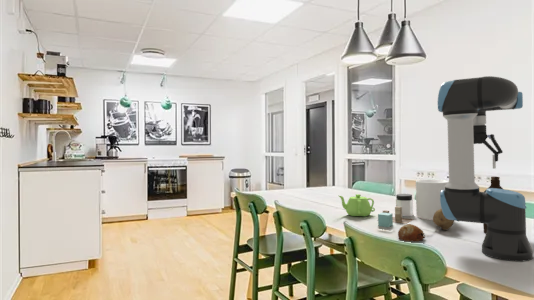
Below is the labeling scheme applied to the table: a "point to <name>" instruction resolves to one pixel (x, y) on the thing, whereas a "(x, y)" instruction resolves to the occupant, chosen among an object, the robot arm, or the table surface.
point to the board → (403, 220)
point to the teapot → (358, 206)
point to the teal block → (385, 219)
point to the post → (398, 213)
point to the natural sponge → (442, 220)
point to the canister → (428, 197)
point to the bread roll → (410, 233)
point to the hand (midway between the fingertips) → (478, 168)
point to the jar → (405, 204)
